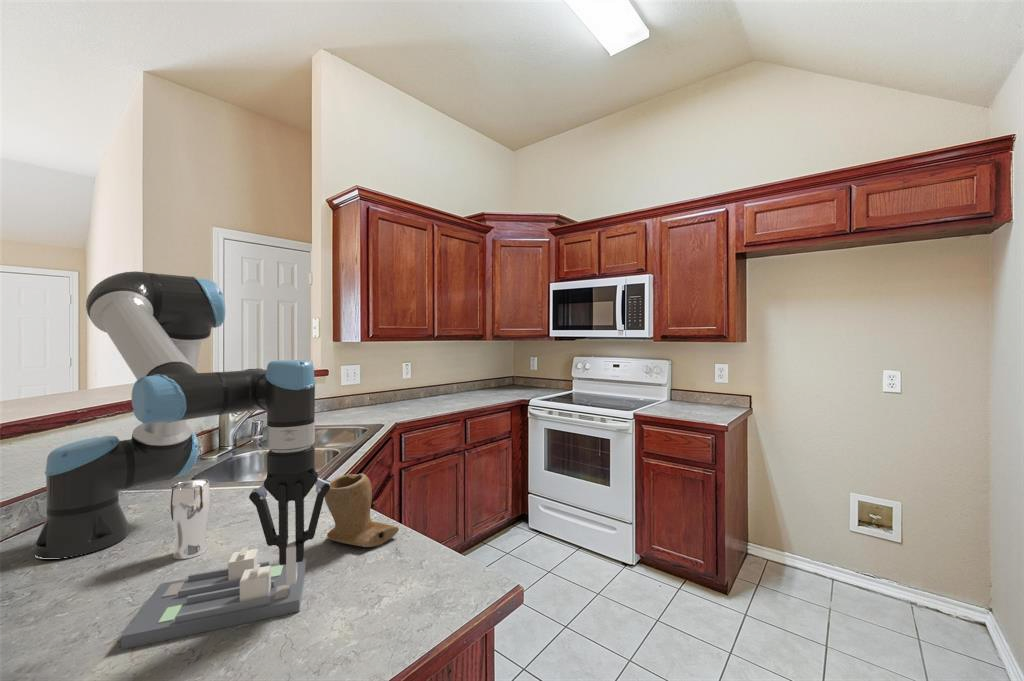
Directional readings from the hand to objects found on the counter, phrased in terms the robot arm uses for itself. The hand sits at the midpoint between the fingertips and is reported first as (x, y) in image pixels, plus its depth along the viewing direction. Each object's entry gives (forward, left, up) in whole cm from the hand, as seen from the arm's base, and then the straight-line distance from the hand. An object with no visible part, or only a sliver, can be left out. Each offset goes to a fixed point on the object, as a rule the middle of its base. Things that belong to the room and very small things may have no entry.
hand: (291, 580), depth 76 cm
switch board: (-10, +4, -4) cm, 12 cm away
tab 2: (-5, 0, -2) cm, 6 cm away
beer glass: (-22, +28, -4) cm, 36 cm away
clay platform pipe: (+12, +20, -4) cm, 23 cm away
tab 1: (-9, +8, -2) cm, 12 cm away
